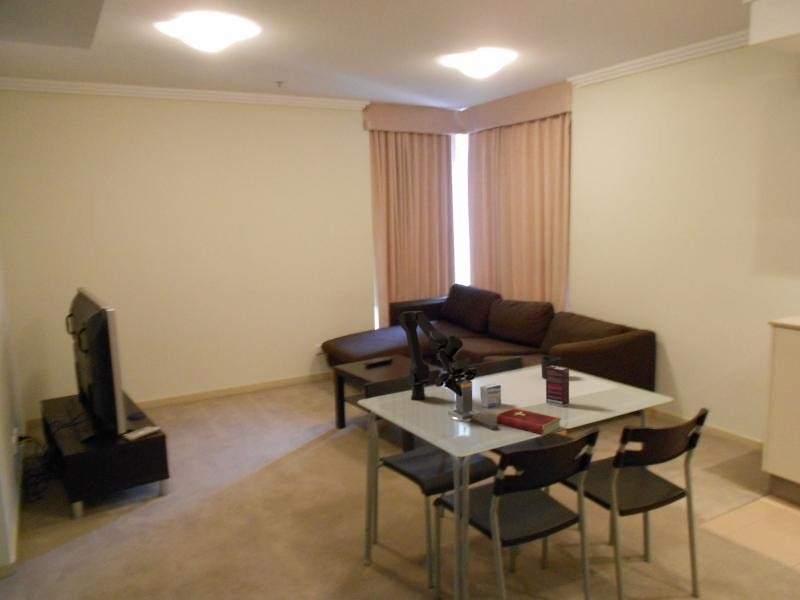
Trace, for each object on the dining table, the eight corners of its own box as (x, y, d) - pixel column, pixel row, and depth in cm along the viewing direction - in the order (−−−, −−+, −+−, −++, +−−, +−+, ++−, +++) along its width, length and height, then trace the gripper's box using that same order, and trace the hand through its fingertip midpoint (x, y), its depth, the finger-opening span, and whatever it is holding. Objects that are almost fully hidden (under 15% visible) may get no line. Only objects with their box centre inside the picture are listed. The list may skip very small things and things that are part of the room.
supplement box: (569, 404, 255) (569, 367, 253) (563, 407, 251) (563, 370, 249) (551, 401, 261) (551, 364, 259) (545, 403, 257) (545, 367, 255)
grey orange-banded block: (456, 409, 244) (455, 380, 242) (465, 407, 246) (465, 378, 245) (463, 412, 240) (462, 383, 238) (472, 410, 242) (472, 381, 241)
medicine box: (487, 408, 253) (487, 388, 252) (480, 405, 257) (480, 386, 256) (501, 404, 258) (501, 384, 257) (494, 402, 261) (494, 382, 260)
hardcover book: (543, 437, 219) (543, 425, 218) (496, 424, 234) (496, 414, 233) (560, 428, 227) (560, 417, 227) (514, 417, 242) (514, 407, 242)
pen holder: (550, 381, 293) (550, 361, 292) (537, 377, 301) (537, 357, 300) (564, 378, 297) (564, 358, 296) (551, 374, 306) (551, 355, 304)
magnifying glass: (443, 415, 245) (443, 410, 245) (467, 410, 251) (467, 405, 251) (483, 432, 224) (482, 427, 224) (507, 426, 230) (507, 421, 230)
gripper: (438, 354, 238) (455, 387, 231) (475, 348, 248) (493, 380, 240) (427, 370, 246) (443, 403, 238) (464, 363, 256) (481, 394, 248)
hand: (466, 394), depth 241 cm, fingers closed on grey orange-banded block, 5 cm apart
